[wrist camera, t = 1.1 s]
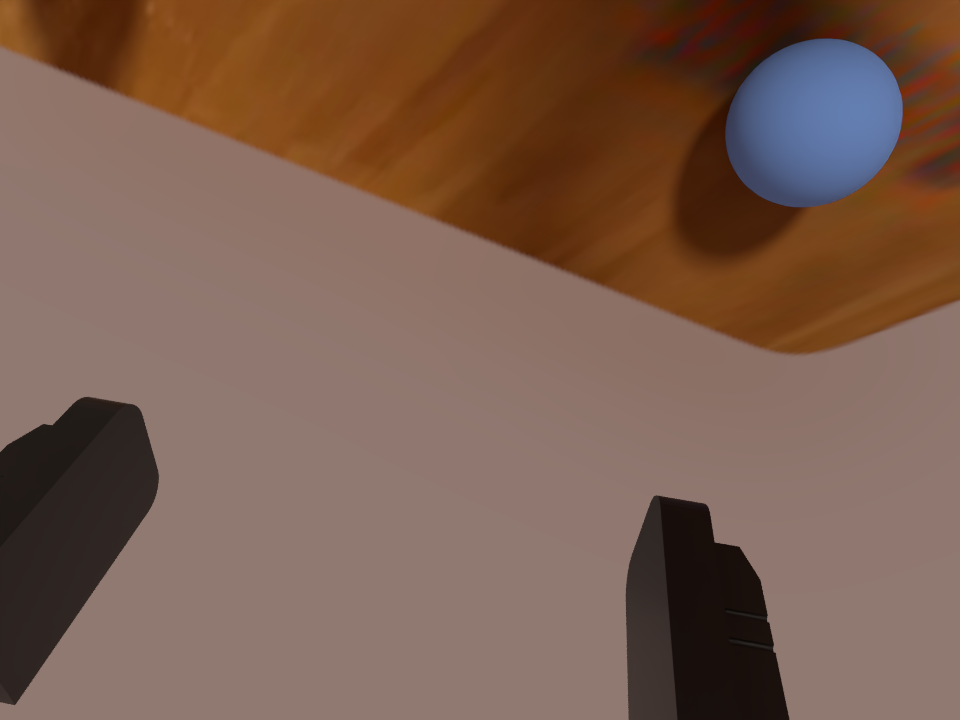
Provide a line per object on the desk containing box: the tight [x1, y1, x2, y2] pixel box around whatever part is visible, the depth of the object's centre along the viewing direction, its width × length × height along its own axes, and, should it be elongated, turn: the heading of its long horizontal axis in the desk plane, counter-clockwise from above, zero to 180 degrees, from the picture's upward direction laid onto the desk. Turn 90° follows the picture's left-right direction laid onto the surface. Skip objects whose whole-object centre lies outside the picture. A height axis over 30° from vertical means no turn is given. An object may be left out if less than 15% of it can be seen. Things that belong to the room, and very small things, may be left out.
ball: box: [725, 39, 902, 207], centre depth 26 cm, size 6×6×6 cm
